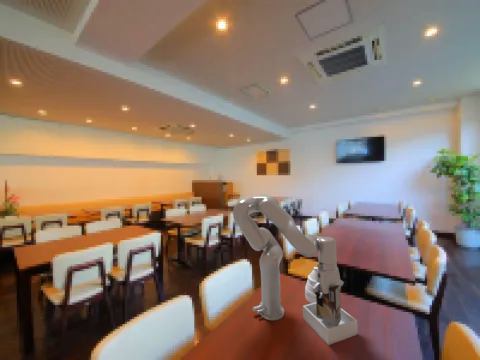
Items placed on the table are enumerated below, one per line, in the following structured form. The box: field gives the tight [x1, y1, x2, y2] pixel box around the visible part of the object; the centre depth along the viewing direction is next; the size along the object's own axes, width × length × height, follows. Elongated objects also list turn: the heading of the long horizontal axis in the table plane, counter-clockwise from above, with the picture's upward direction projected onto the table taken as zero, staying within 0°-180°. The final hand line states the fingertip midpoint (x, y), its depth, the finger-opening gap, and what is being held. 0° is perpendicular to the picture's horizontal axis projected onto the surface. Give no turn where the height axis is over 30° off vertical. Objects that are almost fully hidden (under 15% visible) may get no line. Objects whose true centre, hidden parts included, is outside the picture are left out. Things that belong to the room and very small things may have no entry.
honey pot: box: [304, 266, 318, 304], centre depth 112 cm, size 13×13×18 cm
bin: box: [302, 302, 359, 346], centre depth 92 cm, size 16×17×6 cm
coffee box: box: [316, 285, 342, 326], centre depth 91 cm, size 9×6×16 cm
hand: (328, 302), depth 91 cm, fingers closed on coffee box, 8 cm apart
